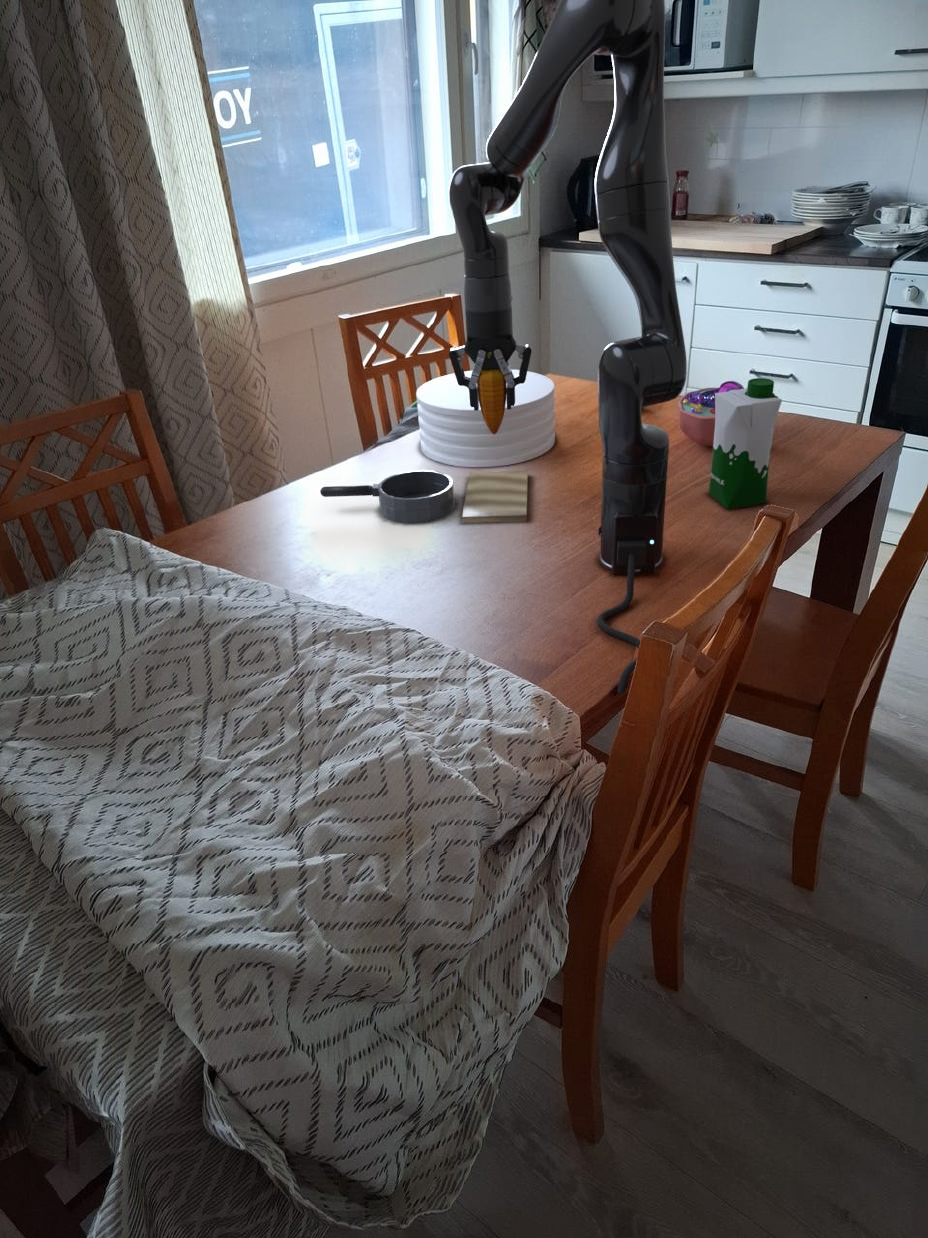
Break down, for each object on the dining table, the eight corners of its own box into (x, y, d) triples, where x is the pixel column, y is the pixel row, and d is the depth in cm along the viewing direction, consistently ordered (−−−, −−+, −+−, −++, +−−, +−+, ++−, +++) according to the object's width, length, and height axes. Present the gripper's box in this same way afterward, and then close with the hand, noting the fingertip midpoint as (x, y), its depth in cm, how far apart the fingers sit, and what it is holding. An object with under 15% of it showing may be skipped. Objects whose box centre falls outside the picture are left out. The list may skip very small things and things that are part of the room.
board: (526, 521, 145) (526, 515, 145) (462, 523, 146) (461, 516, 146) (527, 476, 162) (527, 470, 162) (469, 478, 163) (469, 472, 163)
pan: (451, 522, 147) (449, 498, 144) (375, 524, 148) (372, 500, 146) (457, 491, 158) (455, 468, 156) (386, 494, 159) (384, 471, 157)
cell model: (653, 446, 171) (656, 390, 166) (711, 420, 182) (716, 366, 177) (727, 466, 160) (733, 406, 155) (784, 437, 171) (791, 380, 166)
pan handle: (382, 492, 153) (381, 483, 152) (380, 496, 151) (379, 487, 150) (322, 494, 154) (320, 484, 153) (320, 498, 152) (318, 489, 151)
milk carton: (773, 504, 145) (789, 386, 134) (724, 512, 143) (736, 394, 133) (747, 485, 152) (760, 372, 142) (700, 492, 151) (709, 379, 140)
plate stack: (436, 475, 165) (431, 417, 159) (410, 430, 189) (405, 378, 183) (573, 455, 170) (574, 398, 164) (531, 413, 194) (530, 362, 188)
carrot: (474, 435, 148) (468, 347, 140) (492, 427, 151) (488, 340, 143) (495, 441, 145) (491, 351, 137) (514, 432, 148) (511, 344, 140)
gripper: (441, 311, 134) (449, 417, 143) (533, 307, 133) (535, 414, 142) (445, 301, 141) (453, 403, 150) (533, 297, 139) (535, 400, 148)
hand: (493, 408), depth 146 cm, fingers closed on carrot, 5 cm apart
